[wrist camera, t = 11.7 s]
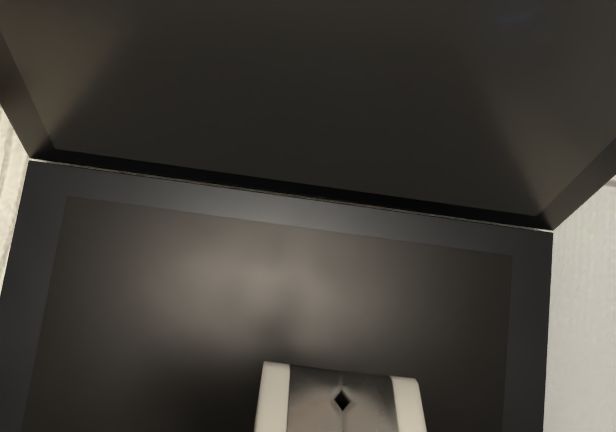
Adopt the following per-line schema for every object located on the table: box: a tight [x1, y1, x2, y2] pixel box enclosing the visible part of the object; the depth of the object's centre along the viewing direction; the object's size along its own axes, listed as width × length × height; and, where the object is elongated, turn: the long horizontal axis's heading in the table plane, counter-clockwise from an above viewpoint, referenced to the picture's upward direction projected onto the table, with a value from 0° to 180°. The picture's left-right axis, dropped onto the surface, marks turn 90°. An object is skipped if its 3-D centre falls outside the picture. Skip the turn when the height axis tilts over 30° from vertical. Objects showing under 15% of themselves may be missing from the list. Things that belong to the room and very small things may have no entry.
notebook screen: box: [0, 0, 616, 230], centre depth 22 cm, size 21×30×1 cm
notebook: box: [0, 161, 553, 432], centre depth 30 cm, size 21×30×2 cm
